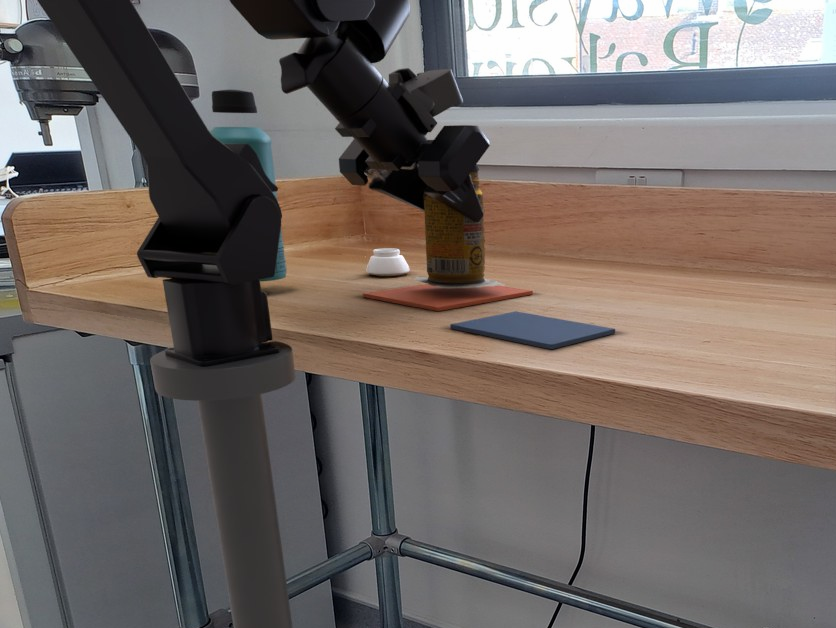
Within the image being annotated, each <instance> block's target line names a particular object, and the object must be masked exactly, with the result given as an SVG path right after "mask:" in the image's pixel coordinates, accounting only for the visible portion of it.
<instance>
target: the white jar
mask: <svg viewBox="0 0 836 628" xmlns="http://www.w3.org/2000/svg"><path fill="white" fill-rule="evenodd" d="M400 253H401V251H400V249H399V248H393V247H392V248H391V247H383V248H375V249H373V255H371V256H370V257H369V261H368V262H367V266H366V268H365V271H366V273H368V274H369V275H372V276H375V277H398V276H403V275H405V274H407V273H408V272H410V266H409V264H408V263H407V261H406V258H405V257H404V256H403V255H402V254H400Z"/></svg>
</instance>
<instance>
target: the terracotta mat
mask: <svg viewBox="0 0 836 628" xmlns="http://www.w3.org/2000/svg"><path fill="white" fill-rule="evenodd" d="M533 294H534V290H532V289H524V288H519V287H511V286H507V285H497V286H483V287H480V288H478V287H471V288H439V287H436V286H432V285H430V284H428V283H423V284H416V285H410V286H409V285H408V286H402V287H396V288H388V289H383V290H376V291H368V292H363V293H362V297H363V298H367V299H372V300H377V301H382V302H387V303H393V304H398V305H404V306H408V307H412V308H413V307H414V308H417V309H418V308H419V309H424V310H429V311H434V312H440V311H441V312H442V311H447V310H453V309H458V308H464V307H470V306H476V305H480V304H485V303H492V302H497V301H503V300H509V299H513V298H514V299H515V298H520V297H526V296H531V295H533Z"/></svg>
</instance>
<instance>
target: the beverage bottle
mask: <svg viewBox="0 0 836 628" xmlns="http://www.w3.org/2000/svg"><path fill="white" fill-rule="evenodd" d="M211 103H212V104H211V109H212V113H221V114H222V113H223V114H257V113H258V108H257V105H256V101H255V95H254V93H253V92H252V91H246V90H242V89H220V90H213V91H212V92H211ZM209 131H210V133H211V134H212V135H213V136H214V137H215V138H216V139H218V140H219V141H220V142H222V143H223V144H249V145H250V146H251V147H252V149H253V150H254V151H255V152H256V154H257V155H258V158H259V160H260V163H261V165H262V168H263V170H264V172H265V174H266V175H267V177H268V178H269V179H270V181H271V182H272V183H273V184H275V185H276V177H275V168H274V160H273V158H274V157H273V151H272V150H273V149H272V138H271V137H270V136H269V135H268V134H267V133H266V132H265V131H264V130H262V129H261V128H260V127H254V126H214V127H213V128H211V130H209ZM276 186H277V185H276ZM277 193H278V192H277V191H276V192H273V194H274V195H275V197H276V199H277V200H278V194H277ZM281 227H283V226H282V224H281ZM283 235H284V233H283V231H282V230H281V231H280V238H279V246H278V253H277V261H276V268H275V275H274V277H271V278H265V279H260V283H261V282H262V283H263V282H271V281H272V282H273V281H277V280H282V279H285V278H286V277H287V263H286V262H287V261H286V255H285V253H286V252H285V246H284V244H285V243H284V239H283Z"/></svg>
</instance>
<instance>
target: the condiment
mask: <svg viewBox="0 0 836 628" xmlns="http://www.w3.org/2000/svg"><path fill="white" fill-rule="evenodd" d="M479 171H480V168H479V165H478V163H477V164H476V165H475V167H474V168H473V170H472V171H471V172H470V176H471V180H472V183H473V186H474V189H475V192H476V194H477V197H478V200H479V202H480V205H481V208H482V211H483V213H484V214H485V208H484V195H483V192H482V190H481V188H479V185H480V177H479ZM423 197H424V211H423V212H424V213H423V214H424V234H425V258H426V273H427V276H412V279H414V280H416V281H418V282H420V283H423V284H430V285H432V286H436V287H439V288H471V287H478V288H480V287H483V286H497V285H499V286H507V284H505V283H503V282H500V281H496V280H495V279H489V278H486V277H485V270H486V266H485V265H486V247H485V242H486V238H485V237H486V236H485V218H484V215H483V217H482V219H481V220H480V221H479V222H475V221H473V220H471V219H469V218H467V217H466V216H464V215H462V214H460V213H459V212H457V211H455V210H453V209H452V208H450V207H448V206H447V205H445V204H443V203H441V202H440V201H438V200H436V199H434V198H433V197H431V196H429V195H427V194H426V193H424V196H423Z"/></svg>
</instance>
